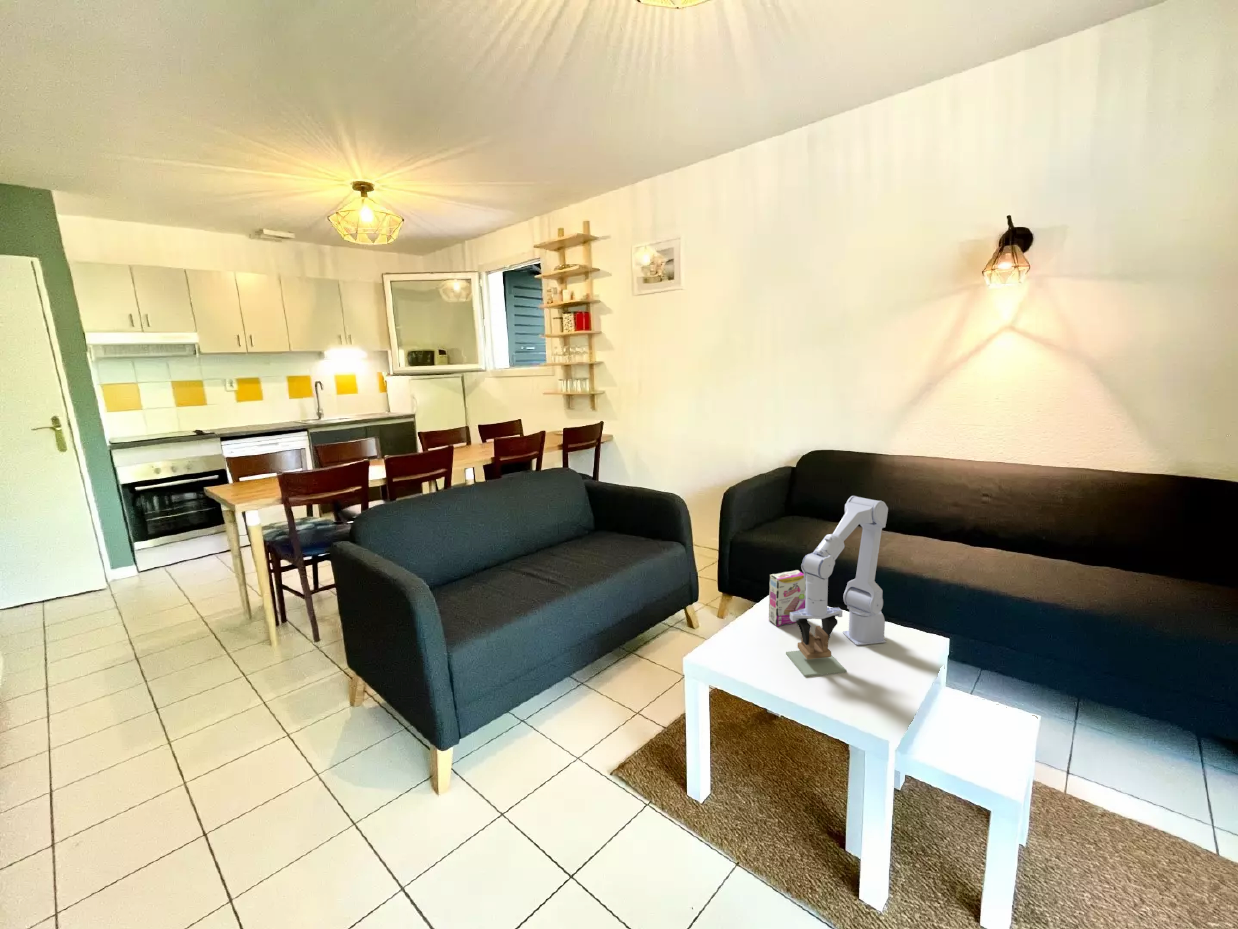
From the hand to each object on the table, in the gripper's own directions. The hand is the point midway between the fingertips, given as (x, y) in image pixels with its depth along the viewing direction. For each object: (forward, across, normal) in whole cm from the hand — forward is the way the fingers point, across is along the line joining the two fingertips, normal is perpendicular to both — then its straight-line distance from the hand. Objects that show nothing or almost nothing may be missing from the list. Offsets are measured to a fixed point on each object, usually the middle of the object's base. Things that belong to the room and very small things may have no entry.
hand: (815, 642), depth 147 cm
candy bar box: (+7, -3, -25) cm, 26 cm away
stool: (+3, 0, -1) cm, 4 cm away
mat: (+6, 0, 0) cm, 6 cm away
